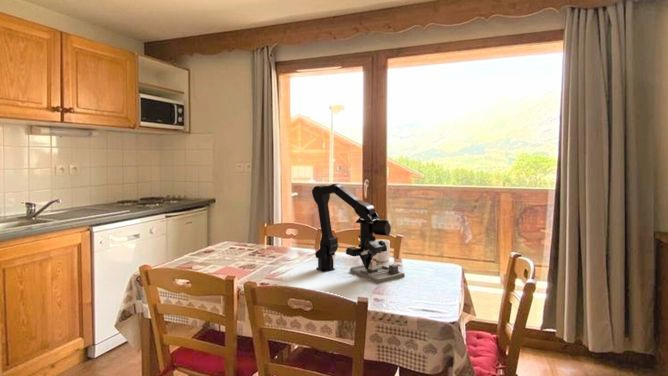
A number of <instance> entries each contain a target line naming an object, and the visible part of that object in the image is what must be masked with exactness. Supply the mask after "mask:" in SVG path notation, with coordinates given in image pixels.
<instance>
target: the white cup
mask: <svg viewBox="0 0 668 376" xmlns="http://www.w3.org/2000/svg"><path fill="white" fill-rule="evenodd" d="M382 240H383V241H384V242H385V245H386V246H387V251H383V252H382V251H381V253H377V254H376V255H374V256H375V257H374V258H375V259H377V262H384V263H385V262H388V261H389V260H390V249H391V248H390V246H391V245H390V243H391V241H390V240H389V239H386V238H385V239H384V238H380V239H379V238H377V239H376V241H382Z"/></svg>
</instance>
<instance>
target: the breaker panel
mask: <svg viewBox="0 0 668 376" xmlns="http://www.w3.org/2000/svg"><path fill="white" fill-rule="evenodd" d="M371 260H374V261H376V262H377V269H378V272H374V273H371V272H368V271H367V269H366V268H365V266H364V264H362V265H357V266H351V267H350V269H349V273H351V274H354V275H356V276H359V277H362V278H364V279H366V280H369V281H372V282H375V283H377V284H380V283H384V282H389V281H394V280H397V279H401V278H405V272H401V271H399V266H398V265H396V264H389V265H388V266H387V265H386V266H385V265H380V264H378V261H377V259H375V257H372V259H371Z"/></svg>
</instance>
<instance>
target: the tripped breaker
mask: <svg viewBox="0 0 668 376" xmlns="http://www.w3.org/2000/svg"><path fill="white" fill-rule="evenodd" d="M377 264H378V261H377V262H376V261H374V260H371V262H370V265H369V268H368V269H367V271H368V272H371V273H374V272H378V269H377Z"/></svg>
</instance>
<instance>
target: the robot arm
mask: <svg viewBox="0 0 668 376" xmlns="http://www.w3.org/2000/svg"><path fill="white" fill-rule="evenodd" d="M311 193H312V199H313V201H314V202H315V204H316V205H317V211H318V217H319V226H320V232H321V237H320V240H319V249H318V250H317V251H316V252H315V253H314V254H315V257H316V258H317V267H316V269H317V270H318V271H321V272H330V271H335V268H334V258H333V256H335V253H336V252H337V251H338V248H339V243H338V237H335V236H334V235H333V230H332V224H331V215H330V209H329V201H330V198H331V194H335V195H336V197H339V198H340V199H341V200H342V201H343V202H344V203H346V204H348V206H350V207H352V209H353V211H354V213H355V214H356V215H357V216H358V217H359V218H358V219H357V220H356V221H355V223H356V224H359V235H358V236H357V237H358V239H359V242H360V243H359V244H358V246H357V247H355V246H351V247H350V246H349V247H347V248H346V249H345V255H347V256H351V257H359V258H360V259H361V262H362V265H364V266H365V268H366V269H368V268H369V265H370V262H371V259H372V258H374V256H375V255H376V254H377V253H381V251H382V252H383V251H387V246H386V245H385V242H384V241H383V240H382V241H376V240H377V238H376V236H375V235H377V236H385V237H386V236H387V237H388V236H390V234H391V231H392V230H391V229H392V228H391V227H392V226H391V224H390V222H389V219H381V218H380V216H379V215H378V213H377V212H376V208H375V206H374V205H372V204H371V203H368V202H366V201H363V200H361V199H359V198H358V197H357V196H355V195H354V194H353V193H352V192H350V191H349V190H347V189H346V188H345V187H343V186H342V184H340V183H332V184H329V185H326V184H325V185H324V184H323V185H322V184H321V185H316V186H314V187H313V188H312V190H311Z"/></svg>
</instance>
